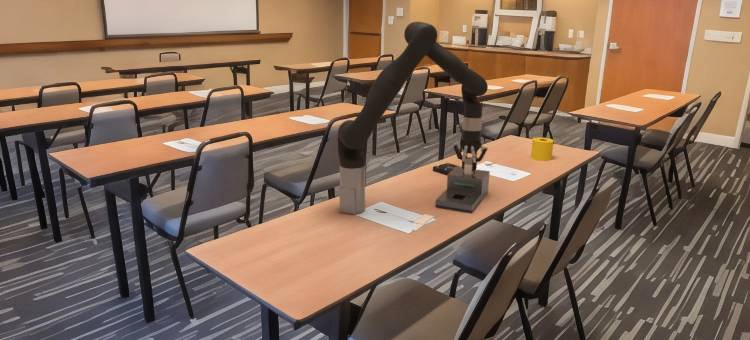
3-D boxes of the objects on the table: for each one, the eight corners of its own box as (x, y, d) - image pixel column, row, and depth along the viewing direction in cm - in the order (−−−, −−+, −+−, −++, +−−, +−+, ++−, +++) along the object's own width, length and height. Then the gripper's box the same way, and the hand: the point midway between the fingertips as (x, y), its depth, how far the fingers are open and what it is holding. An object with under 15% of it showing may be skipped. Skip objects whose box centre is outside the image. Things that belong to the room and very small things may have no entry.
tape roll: (554, 161, 270) (556, 142, 267) (533, 160, 270) (535, 142, 267) (548, 155, 279) (550, 137, 277) (528, 155, 280) (530, 137, 277)
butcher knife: (402, 229, 187) (402, 226, 186) (421, 215, 199) (421, 212, 199) (416, 232, 184) (416, 229, 184) (434, 218, 197) (434, 215, 197)
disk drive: (432, 172, 251) (456, 179, 241) (432, 166, 250) (457, 173, 240) (447, 168, 258) (471, 175, 247) (447, 162, 257) (472, 169, 246)
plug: (470, 179, 217) (472, 160, 214) (463, 178, 218) (464, 159, 215) (473, 176, 220) (474, 157, 218) (466, 175, 221) (467, 156, 219)
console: (471, 213, 201) (473, 190, 198) (435, 207, 206) (436, 184, 204) (488, 192, 224) (489, 171, 221) (454, 187, 229) (456, 166, 226)
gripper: (451, 128, 213) (449, 170, 218) (487, 131, 207) (484, 175, 212) (457, 124, 219) (454, 165, 224) (491, 128, 214) (488, 170, 219)
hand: (469, 170), depth 218 cm, fingers closed on plug, 3 cm apart
